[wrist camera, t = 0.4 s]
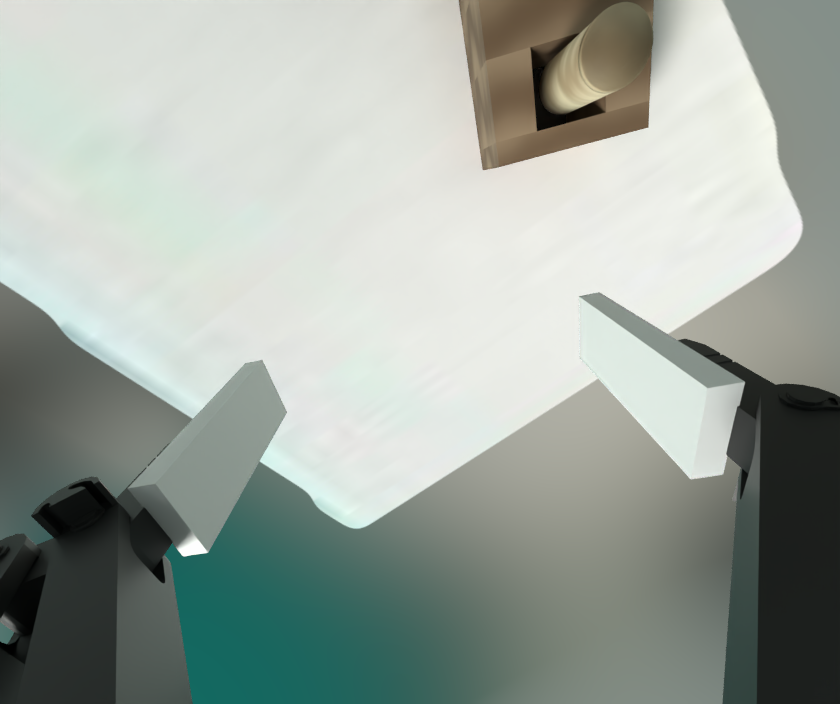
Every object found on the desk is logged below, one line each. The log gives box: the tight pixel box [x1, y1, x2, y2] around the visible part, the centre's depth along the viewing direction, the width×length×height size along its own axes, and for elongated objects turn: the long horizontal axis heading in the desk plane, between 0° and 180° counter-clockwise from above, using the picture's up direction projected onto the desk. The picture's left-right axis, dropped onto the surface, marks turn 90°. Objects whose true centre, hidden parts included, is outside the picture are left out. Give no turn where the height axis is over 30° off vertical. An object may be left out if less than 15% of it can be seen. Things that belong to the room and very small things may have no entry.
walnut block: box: [459, 0, 654, 170], centre depth 28 cm, size 19×12×8 cm, turn 14°
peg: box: [539, 2, 653, 115], centre depth 24 cm, size 4×4×8 cm
